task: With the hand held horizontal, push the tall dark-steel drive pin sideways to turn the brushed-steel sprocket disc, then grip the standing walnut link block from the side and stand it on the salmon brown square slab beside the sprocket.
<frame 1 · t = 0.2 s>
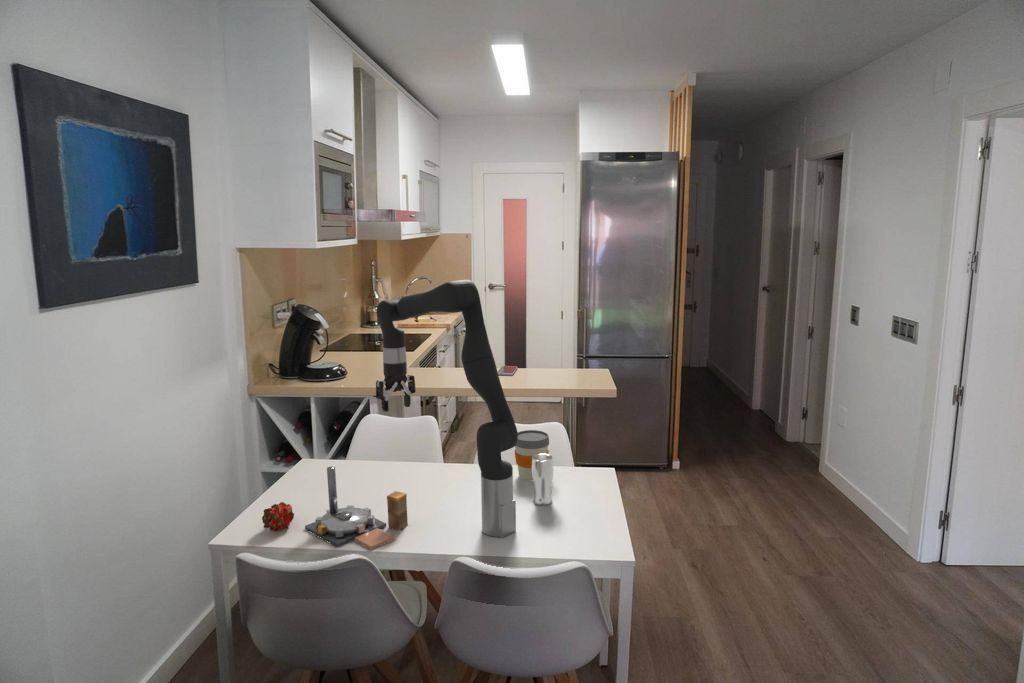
hand: (396, 409, 224), 29 cm above the table, tool pointing down, fingers open, 8 cm apart
sprocket: (343, 498, 201), point 9 cm above the table, hinge at 0.0°
reusable coffee cup: (531, 476, 241), on the table
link: (398, 526, 203), on the table
sprocket base: (345, 527, 203), on the table
dragon fruit: (280, 528, 204), on the table
silver metal cylinder: (542, 502, 220), on the table
salmon brown square slab: (374, 540, 195), on the table
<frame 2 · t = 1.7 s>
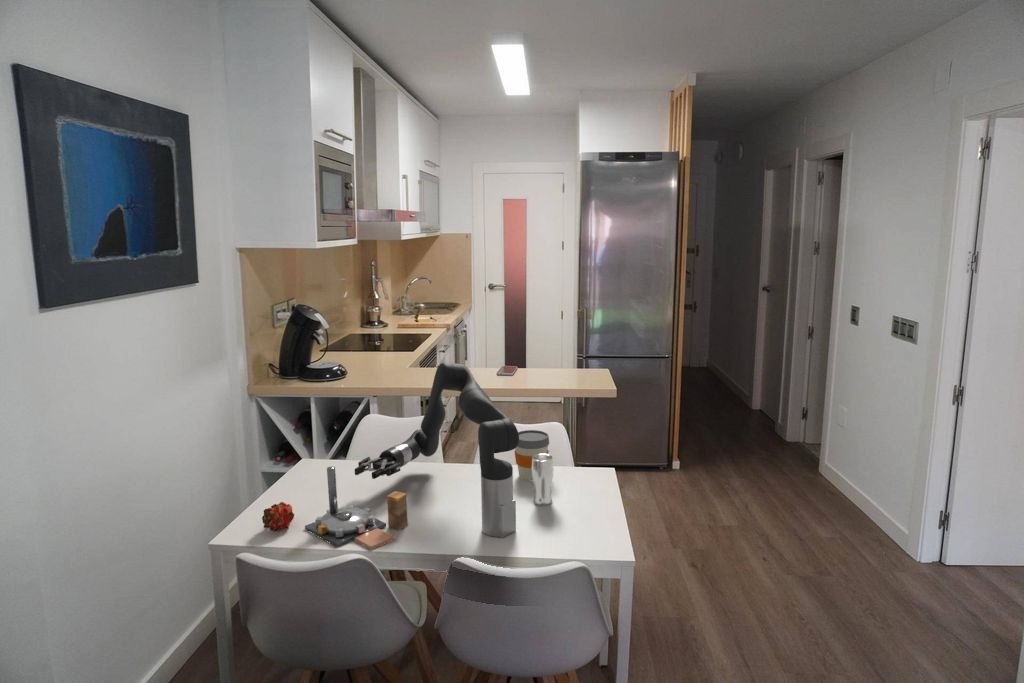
hand: (364, 474, 218), 10 cm above the table, tool horizontal, fingers open, 6 cm apart
nothing on the table moved.
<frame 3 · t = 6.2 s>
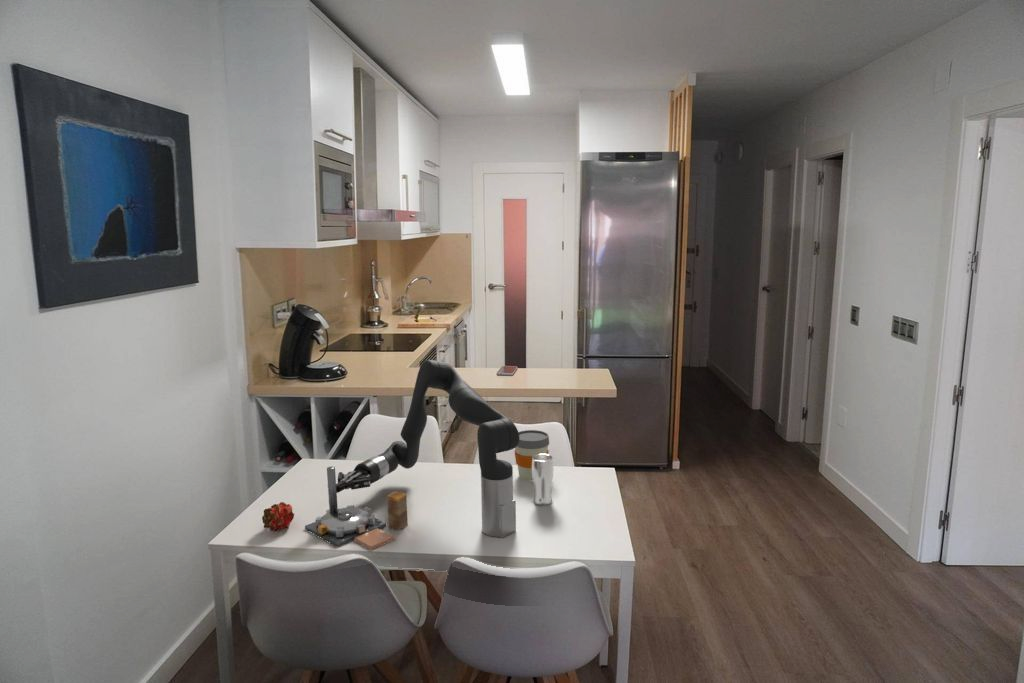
hand: (334, 489, 206), 10 cm above the table, tool horizontal, fingers closed
sprocket: (343, 498, 201), point 9 cm above the table, hinge at 0.3°, touching gripper
everything else where it was.
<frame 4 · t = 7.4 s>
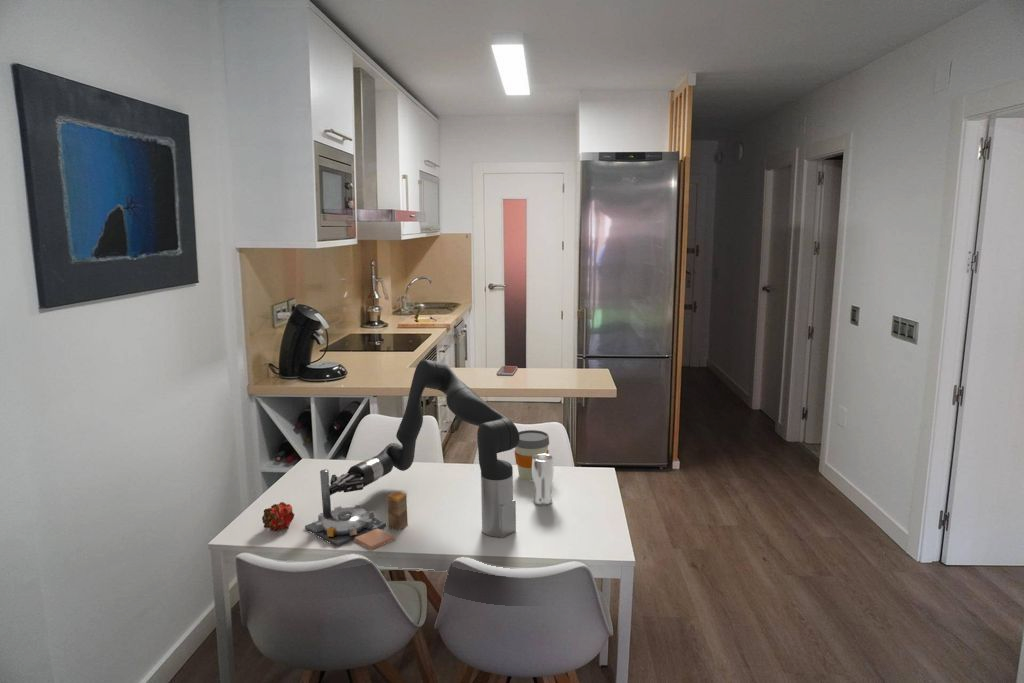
hand: (327, 492, 204), 10 cm above the table, tool horizontal, fingers closed
sprocket: (343, 498, 201), point 9 cm above the table, hinge at 26.6°, touching gripper
everything else where it was.
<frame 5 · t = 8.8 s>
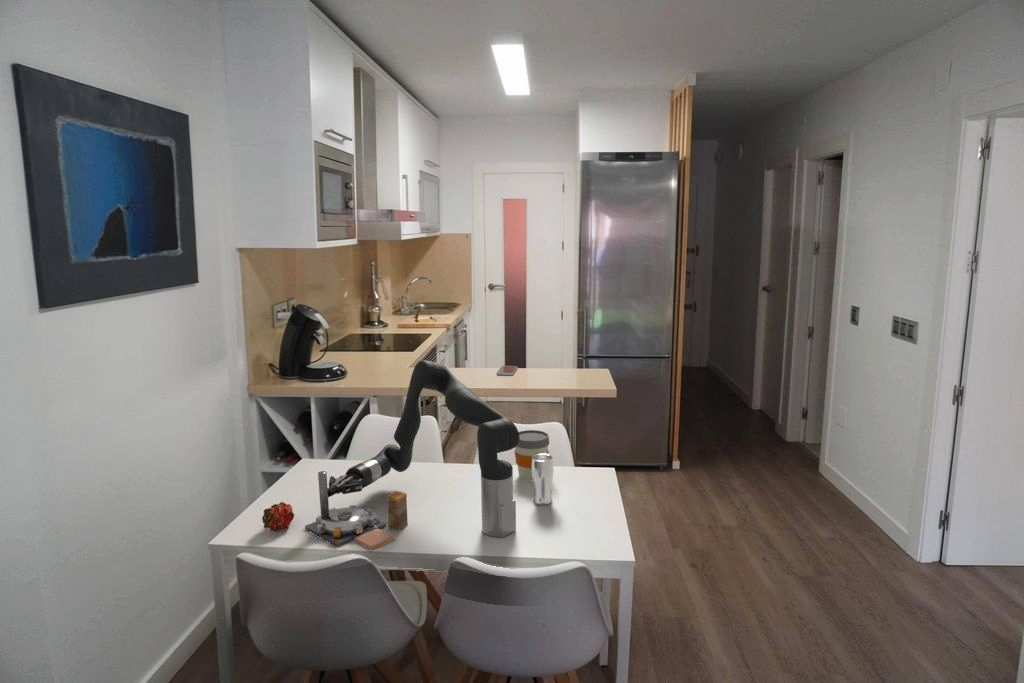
hand: (325, 493, 203), 10 cm above the table, tool horizontal, fingers closed
sprocket: (343, 498, 201), point 9 cm above the table, hinge at 39.6°
everything else where it was.
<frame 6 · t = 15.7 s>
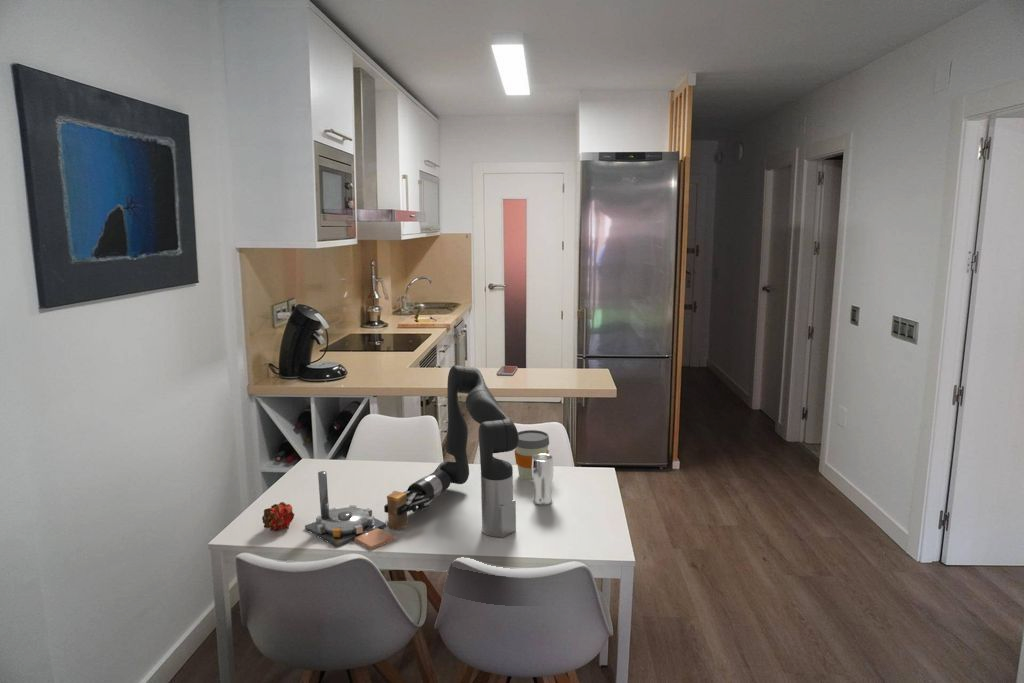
hand: (391, 511, 200), 6 cm above the table, tool horizontal, fingers closed on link, 4 cm apart
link: (398, 526, 203), on the table, touching gripper
everything else where it was.
when the fingers open (8 cm above the table, at t = 20.0 s): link drops 1 cm, resting on salmon brown square slab.
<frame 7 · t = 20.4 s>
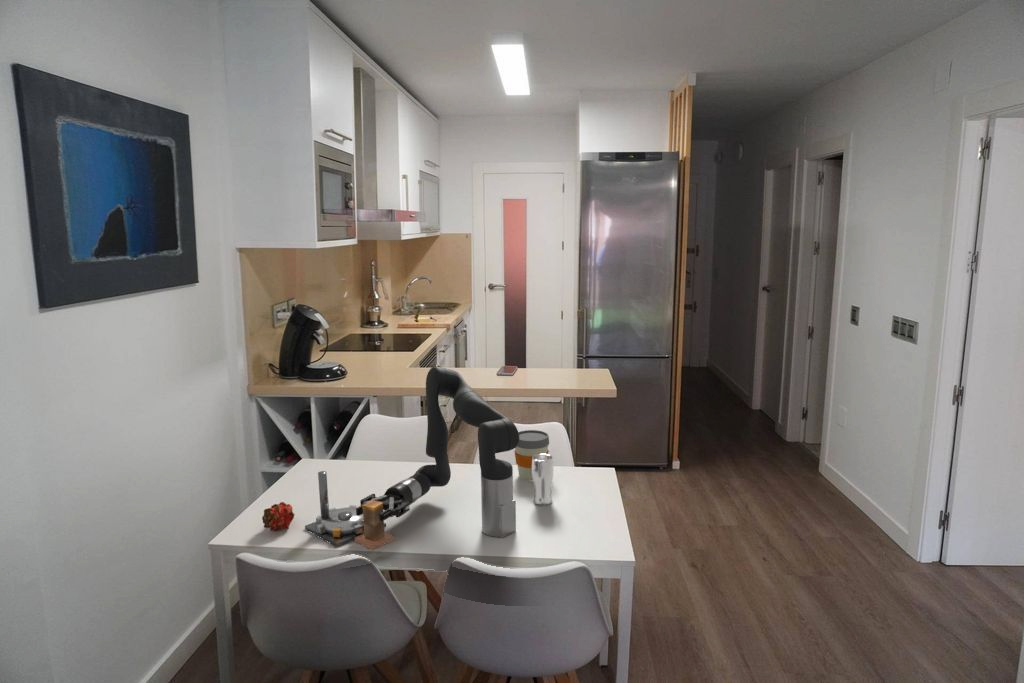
hand: (368, 515, 192), 8 cm above the table, tool horizontal, fingers open, 8 cm apart
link: (374, 536, 195), point 1 cm above the table, touching salmon brown square slab
everything else where it was.
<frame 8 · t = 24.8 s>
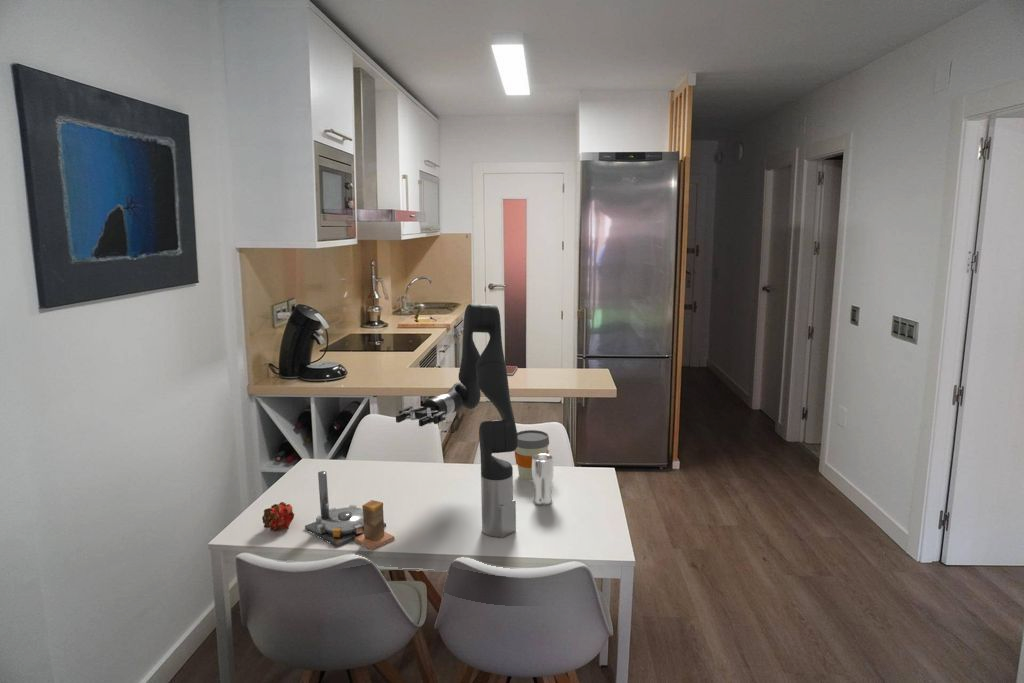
hand: (408, 421, 206), 30 cm above the table, tool horizontal, fingers open, 8 cm apart
nothing on the table moved.
at the end: sprocket at +40° (first picture: +0°); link inside the target area on the salmon brown square slab (0.0 cm from its centre), point 1.0 cm above the salmon brown square slab's base; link tilted 0° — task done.
